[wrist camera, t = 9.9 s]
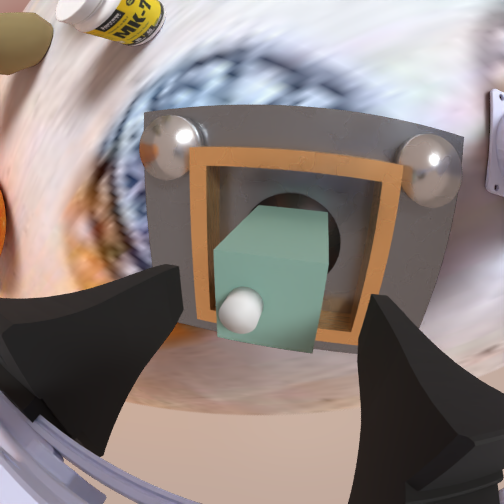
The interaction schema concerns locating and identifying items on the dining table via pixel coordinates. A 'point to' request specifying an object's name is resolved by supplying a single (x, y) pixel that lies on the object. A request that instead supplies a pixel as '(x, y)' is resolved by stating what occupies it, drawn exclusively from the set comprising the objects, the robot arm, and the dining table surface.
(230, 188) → the grey framed base plate
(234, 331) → the spout tin
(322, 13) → the dining table surface
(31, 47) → the squeeze bottle
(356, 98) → the dining table surface
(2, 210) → the decorative sphere
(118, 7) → the supplement bottle
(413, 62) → the dining table surface
